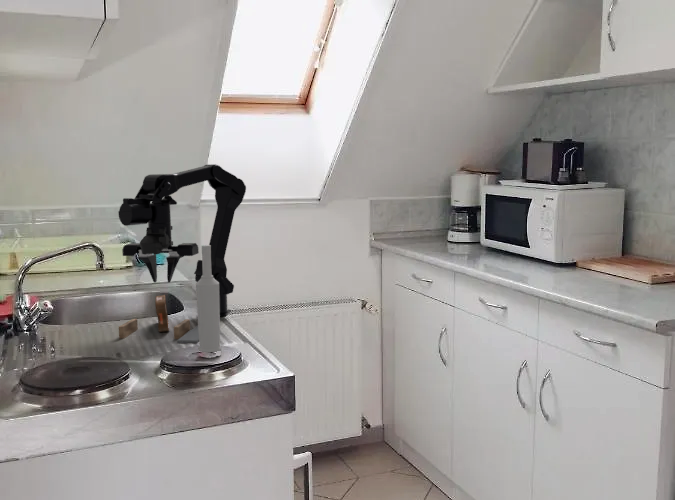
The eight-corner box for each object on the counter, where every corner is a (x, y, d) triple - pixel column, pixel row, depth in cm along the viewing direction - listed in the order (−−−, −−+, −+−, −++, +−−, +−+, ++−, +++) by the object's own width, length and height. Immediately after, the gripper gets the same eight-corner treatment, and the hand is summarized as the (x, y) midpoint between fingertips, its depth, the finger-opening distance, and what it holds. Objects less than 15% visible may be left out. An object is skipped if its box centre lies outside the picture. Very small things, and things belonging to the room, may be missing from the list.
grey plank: (197, 327, 185) (197, 325, 185) (215, 327, 184) (215, 325, 184) (177, 342, 169) (177, 340, 169) (197, 342, 169) (197, 340, 169)
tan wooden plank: (133, 329, 183) (132, 318, 183) (190, 330, 182) (189, 319, 181) (119, 338, 174) (118, 326, 174) (178, 339, 173) (178, 327, 172)
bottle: (226, 353, 159) (222, 244, 156) (214, 359, 154) (210, 247, 151) (206, 351, 160) (201, 244, 157) (194, 357, 156) (189, 246, 153)
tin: (169, 334, 178) (167, 302, 177) (156, 335, 177) (154, 303, 176) (168, 322, 192) (167, 292, 191) (156, 323, 191) (155, 292, 190)
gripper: (111, 225, 174) (115, 287, 176) (184, 225, 172) (186, 287, 174) (129, 222, 185) (132, 280, 187) (198, 221, 183) (200, 280, 185)
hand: (162, 282), depth 183 cm, fingers open, 3 cm apart
